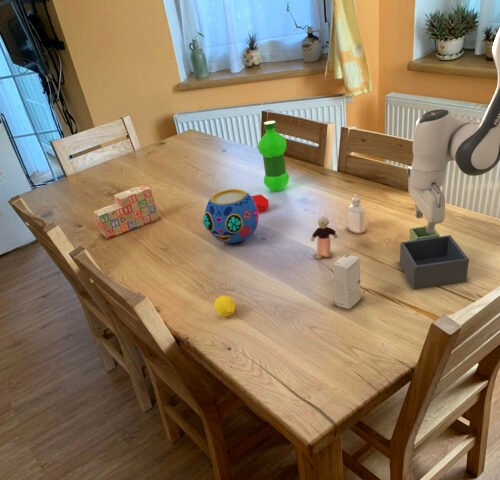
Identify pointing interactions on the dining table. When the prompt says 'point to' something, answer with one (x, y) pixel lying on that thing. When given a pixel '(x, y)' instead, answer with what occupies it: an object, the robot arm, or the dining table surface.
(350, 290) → the cosmetic box
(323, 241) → the grandmother figurine
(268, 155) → the plastic bottle
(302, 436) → the dining table surface
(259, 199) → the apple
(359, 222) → the eye dropper bottle
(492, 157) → the robot arm
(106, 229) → the stack of blocks
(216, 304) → the lemon
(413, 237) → the small bin
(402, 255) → the big bin
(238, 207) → the ceramic pot
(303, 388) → the dining table surface
